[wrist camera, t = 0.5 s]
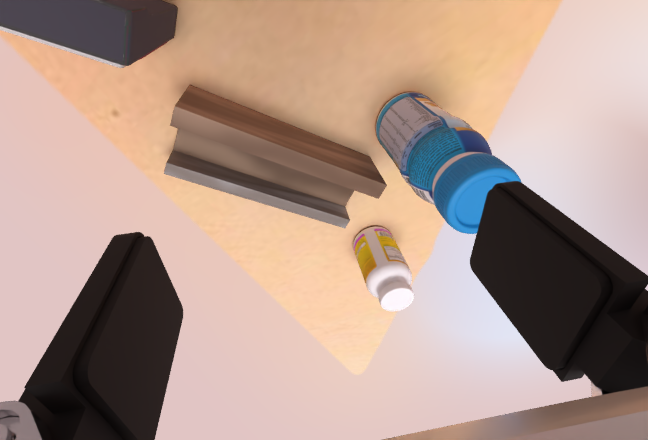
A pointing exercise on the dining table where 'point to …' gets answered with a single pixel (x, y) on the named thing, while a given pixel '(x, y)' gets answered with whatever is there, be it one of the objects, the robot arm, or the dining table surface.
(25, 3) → the calculator
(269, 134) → the wooden channel stand
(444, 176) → the beverage bottle
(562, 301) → the robot arm
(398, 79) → the dining table surface
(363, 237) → the supplement bottle
